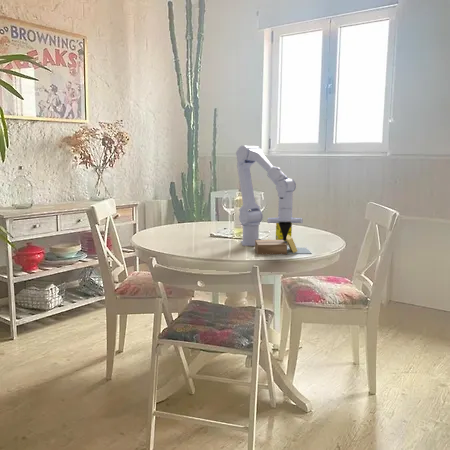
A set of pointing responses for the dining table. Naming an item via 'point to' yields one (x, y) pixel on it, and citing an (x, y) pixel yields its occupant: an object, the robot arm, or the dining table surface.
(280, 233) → the supplement box
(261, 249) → the brown wooden block
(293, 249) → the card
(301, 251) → the mat
